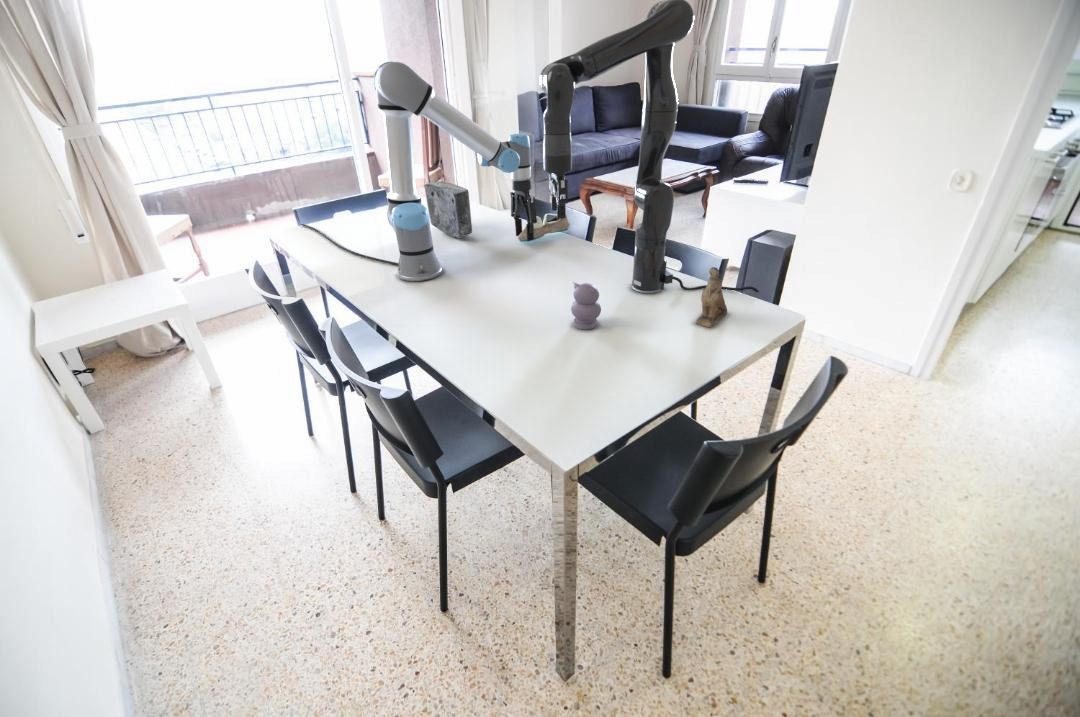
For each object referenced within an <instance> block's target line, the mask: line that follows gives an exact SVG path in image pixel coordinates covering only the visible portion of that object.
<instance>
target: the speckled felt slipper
mask: <svg viewBox="0 0 1080 717" xmlns="http://www.w3.org/2000/svg"><path fill="white" fill-rule="evenodd" d="M548 216H553V218H551V219H548V220H547V218H548ZM536 217H537V223H534V240H531V241H530V242H532V241H536V240H538V239H540V238H542V237H544V236H545V235H547V234H555V233H561V232H567V231H568V230H569V228H570V221H569V218H568V215H567V214H566V217H565V218H563V219H558V217H557V213H545V214H544V216H543V219H542V218H541V217H540V216H537V215H536ZM517 239H518V240H519V242H522V243H527V242H528V241H527V228H526V226H525V227H524V228H523V229H522V232H521V233H520V235H519V236H517Z"/></svg>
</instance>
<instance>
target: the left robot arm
mask: <svg viewBox="0 0 1080 717" xmlns="http://www.w3.org/2000/svg"><path fill="white" fill-rule="evenodd" d="M373 87H374V90H375V92H376V99H377V108H378V111H379V112H380V113H381V114H382V116H383V122H384V132H385V142H386V153H387V163H388V174H389V184H390V192H389V193H388V194H387V195H386V198H387V199H386V200H387V210H386V216H387V221H388V223H389V225H390V226H391V228H392V229H393V231H394V233H395V236H396V241H397V247H398V251H399V259H398V262H395V261H390V260H386V259H381V258H376V257H373V256H369V255H366V254H362V253H359V252H356V251H354V250H351V249H349V248H346V247H344V246H342V245H341V244H340V243H337V241H335V240H333V239H332V238H331V237H330V236H328V235H326V234H325V233H324V232H322V230H321V231H320V230H319V229H317V228H315V227H313V226H311V225H308V224H306V223H301V226H303V227H306V228H308V229H311V230H313V231H315V232H317V233H318V234H320V235H322V236H324V237H325V239H327V240H329V242H331V243H333V244H334V245H335V246H337V247H339V248H340V249H342V250H344V251H345V252H348V253H351V254H353V255H356V256H359V257H362V258H365V259H368V260H373V261H376V262H380V263H386V264H390V265H395V266H397V276H398V278H399V279H400V280H402V281H406V282H413V283H414V282H425V281H429V280H432V279H435V278H438V277H439V276H440V275H441V274H442V273H443V268H442V264H441V263H440V260H439V259H438V256H437V254H436V252H435V250H434V243H433V236H432V230H431V222H430V216H429V211H428V207H426V206H425V205H424V204H422V195H421V194H420V193H419V192H418V191H417V184H416V183H417V182H416V169H415V156H414V154H415V153H414V142H413V141H414V140H413V127H412V115H415V116H417V117H421V116H423V117H424V118H425V119H427V120H428V121H429V122H431V123H432V124H434V125H436V126H437V127H438V128H439V129H441V130H442V131H444V132H445V133H446V134H448V135H450V136H451V137H453V139H455V140H457V141H458V142H460V143H461V144H462V145H464V146H465V147H467V148H468V149H470V150H471V151H473V152H474V153H476V155H477V156H476V157H477V161H478V163H479V165H480V166H481V167H489V168H490V167H494V168H496V169H498V170H500V171H501V172H503V173H505V174H510V178H511V179H512V180H511V189H512V191H510V193H509V194H510V216H511V218H513V220H514V227H515V228H514V229H515V237H518V236H519V235H520V233H521V232H522V231H523V220H522V216H521V215H522V209H523V212H524V216H525V218H526V224H525V227H526V228H527V242H532V241H535V240H534V223H537V217H536V216H537V211H536V197H535V196H532V195H531V193H530V191H531V190H532V188H533V184H532V178H531V177H532V169H531V165H532V164H531V144H530V143H531V142H530V137H529V135H528V134H526V133H513V134H512V133H511V134H509V136H508V140H506V141H500V140H499V139H498V138H497V137H495V136H494V135H493V134H492V133H490V132H488V131H487V130H486V129H485V128H483V127H482V126H480V125H479V124H477V123H476V122H475V121H473V120H472V119H471V118H470V117H468V116H467V115H465V114H464V113H462V112H461V111H460V110H459V109H457V108H456V107H454V105H452V104H450V103H449V102H448V101H446V100H445V99H444V98H442V97H441V96H440V95H439V94H437V93H436V92H435V90H434V87H433V86H432V85H430V83H428V82H427V81H426V80H425V79H423V78H422V77H421V76H420V75H419V74H418V73H417V72H416V71H414V69H412V68H411V67H410V66H408V65H407V64H405V63H404V62H400V61H386V62H383V63H382V64H380V65H379V66H378V67H377V69H376V70H375V72H374V75H373ZM531 240H532V241H531Z"/></svg>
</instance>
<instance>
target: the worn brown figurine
mask: <svg viewBox="0 0 1080 717" xmlns="http://www.w3.org/2000/svg"><path fill="white" fill-rule="evenodd" d="M708 273H709V275H710V276H709V278H708V279H707V280H708V281H707V284H706V285H707V287H705V288H702V289H703V290H702V292H701V297H700V298H701V309H702V312H701V315H700V316H699V317H698V318H697V319H696V321H695V324H696V325H699V326H703V327H705V328H712V327H714V326H715V325H716V324H717V323H719V321H721V320H722V319H723V318H725V317H726V316H727V315H728V307H727V304H726V301H725V298H724V293H723V289H721V288H722V286H723V281H722V279H721V278H720V270H719V269H718V268H717V267H715V266H712V267H711V268H710V269H709V270H708Z"/></svg>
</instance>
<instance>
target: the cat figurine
mask: <svg viewBox="0 0 1080 717" xmlns="http://www.w3.org/2000/svg"><path fill="white" fill-rule="evenodd" d="M572 284H573V288H574V290H573V298H574V301H573V302H572V304H571V306H570V312H571V314H572V316H573V317H574V318H573V326H574V327H575V328H577V329H578V330H579V329H580V330H585V331H586V330H592V329H594V328H596V327H597V324H598V319H597V318H598V317H600V315H601V312H602V307H601V304H600V303H599V302H598V300H599V298H600V291H599V290H598V287H596V286H595V285H593V284H591V283H589V282H588V283H587V282H583V283H580V284H579V283H577V282H575V281H573V282H572Z"/></svg>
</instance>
